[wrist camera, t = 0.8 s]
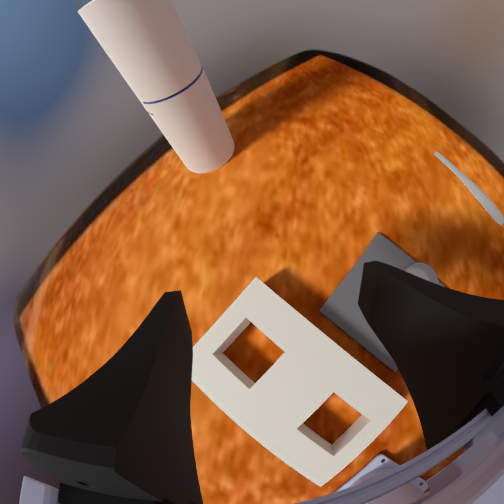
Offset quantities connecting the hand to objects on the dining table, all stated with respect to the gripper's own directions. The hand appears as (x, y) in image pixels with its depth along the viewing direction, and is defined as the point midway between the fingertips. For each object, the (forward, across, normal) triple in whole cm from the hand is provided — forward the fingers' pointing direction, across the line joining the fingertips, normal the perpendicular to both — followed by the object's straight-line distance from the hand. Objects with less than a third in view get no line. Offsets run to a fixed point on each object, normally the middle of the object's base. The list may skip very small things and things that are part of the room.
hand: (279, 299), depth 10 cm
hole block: (+7, -3, +15) cm, 17 cm away
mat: (+9, -13, +9) cm, 18 cm away
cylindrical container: (+29, +2, -4) cm, 29 cm away
